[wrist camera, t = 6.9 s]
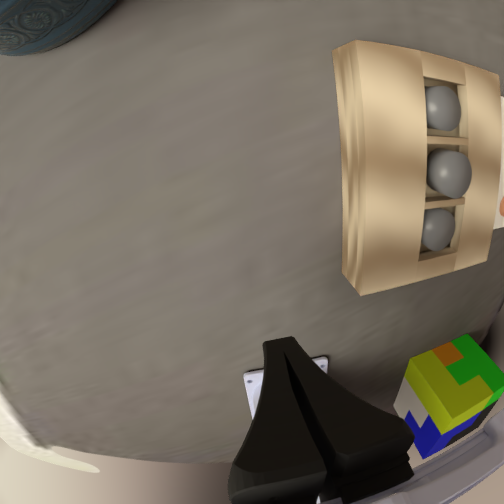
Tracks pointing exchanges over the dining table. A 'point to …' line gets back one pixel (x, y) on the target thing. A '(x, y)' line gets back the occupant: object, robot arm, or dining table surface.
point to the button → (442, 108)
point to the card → (501, 181)
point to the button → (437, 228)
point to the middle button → (448, 172)
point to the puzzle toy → (448, 393)
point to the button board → (411, 163)
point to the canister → (45, 23)
